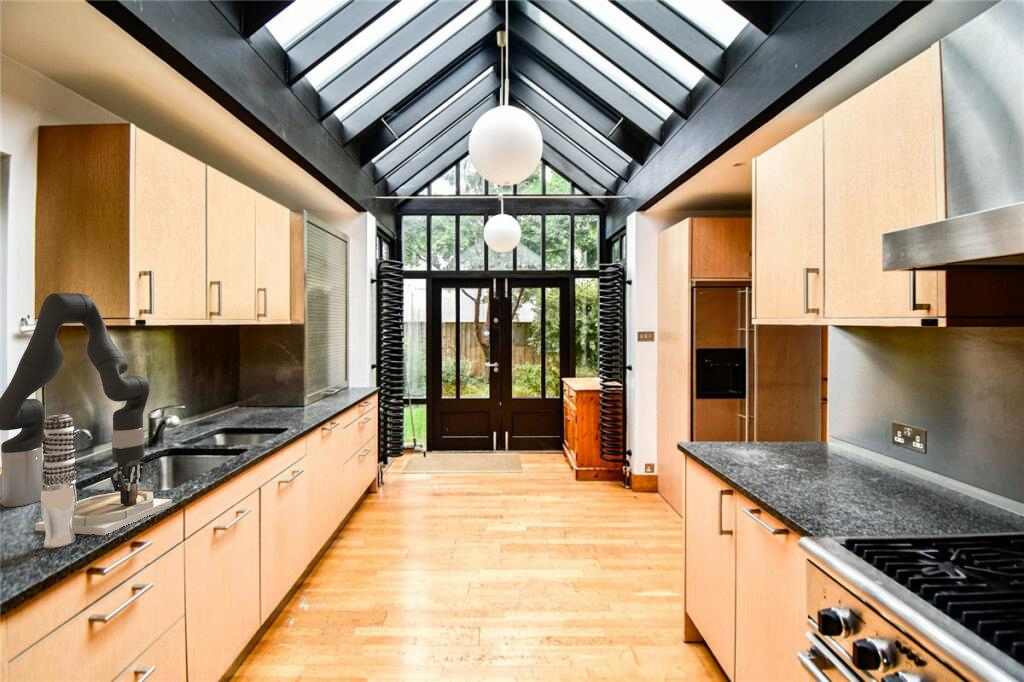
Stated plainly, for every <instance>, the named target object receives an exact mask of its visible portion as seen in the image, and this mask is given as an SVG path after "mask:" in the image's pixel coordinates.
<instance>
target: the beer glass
mask: <svg viewBox="0 0 1024 682" xmlns="http://www.w3.org/2000/svg"><path fill="white" fill-rule="evenodd" d="M77 496H78V493H77V488H76V482H75V483H61V484H55V485H51V486H47V487H44V486H43V488H42V489H41V500H40V501H39V502H40V503H39V505H40V513H41V514H40V515H41V518H42V521H43V522H44V526H45V531H44V532H45V538H44V541H43V548H45V549H55V548H61V547H62V548H63V547H65V546H68V545H70V544H72V543H74V542H75V541H76V539H77V537H76V535H75V534H76V533H74V530H73V523H74V518H75V513H76V506H77V501H78V497H77Z"/></svg>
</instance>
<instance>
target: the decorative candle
mask: <svg viewBox="0 0 1024 682" xmlns="http://www.w3.org/2000/svg"><path fill="white" fill-rule="evenodd" d="M75 431H77V428H75V426H74V417H72V416H71V415H70V414H67V413H66V414H65V413H64V414H61V413H60V414H53V415H52V414H51V415H49V416H47V417H46V418H45V419H44V437H43V441H42V455H44V458H45V459H44V460H45V461H44V466H43V487H44V486H45V487H47V486H51V485H55V484H61V483H75V484H76V483H77V480H76V479H77V476H76V475H77V472H76V471H75V470H77V467H76V465H77V463H76V462H75V461H76V460H75V459H76V458H75V453H74V452H75V451H76V449H77V448H76V447H74V446H75V445H76V444H77V442H76V440H77V438H76V437H74V436H75V435H77V432H75Z"/></svg>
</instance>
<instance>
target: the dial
mask: <svg viewBox="0 0 1024 682" xmlns="http://www.w3.org/2000/svg"><path fill="white" fill-rule="evenodd" d="M142 502H144V497H142V496H139V495H138V497H137V499H136V483H131V484H130V503H128V504H121V503H120V495H119V496H111V497H105V498H100V499H96V500H92V501H89V502H86V503H83V504H80V505H78V506H76V513H75V515H78V516H92V515H98V514H103V513H109V512H114V511H120V510H124V509H127V508H129V507H132V506H133V505H136V504H138V503H142Z"/></svg>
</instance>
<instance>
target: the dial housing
mask: <svg viewBox="0 0 1024 682" xmlns="http://www.w3.org/2000/svg"><path fill="white" fill-rule="evenodd" d="M137 493H138V495H139V496H142V497H144V502H142V503H138V504H136V505H133V506H132V507H129V508H127V509H124V510H120V511H114V512H109V513H103V514H98V515H92V516H78V515H75V518H74V523H73V530H74V534H81V535H92V534H95V535H94V536H107V535H109V534H111V533H113V531H114V532H116V531H118V530H120V529H119V528H121V527H123V526H125V527H127V526H129V525H128V524H130V525H131V523H132V524H134V523H136V522H138V520H139V521H141V520H143V519H145V518H147V516H148V517H150V516H152V515H154V514H157V513H159V512H161V511H163V510H166V509H167V508H170V507H172V506H173V499H170V498H169V499H167V498H154V491H146V490H137ZM119 495H120V492H119V491H115V492H111V493H105V494H98V495H92V496H88V497H86V498H82V499H80V500H77V506H78V505H80V504H83V503H86V502H89V501H92V500H96V499H100V498H105V497H111V496H119ZM149 515H150V516H149ZM144 517H145V518H144ZM142 518H143V519H142ZM140 519H141V520H140ZM133 522H134V523H133ZM126 525H127V526H126ZM123 528H124V527H123ZM117 529H118V530H117ZM121 529H122V528H121ZM115 530H116V531H115ZM36 531H37V532H46V531H45V526H44V522H43V520H42V521H39V522H35V532H36ZM108 533H109V534H108ZM106 534H107V535H106Z"/></svg>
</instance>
